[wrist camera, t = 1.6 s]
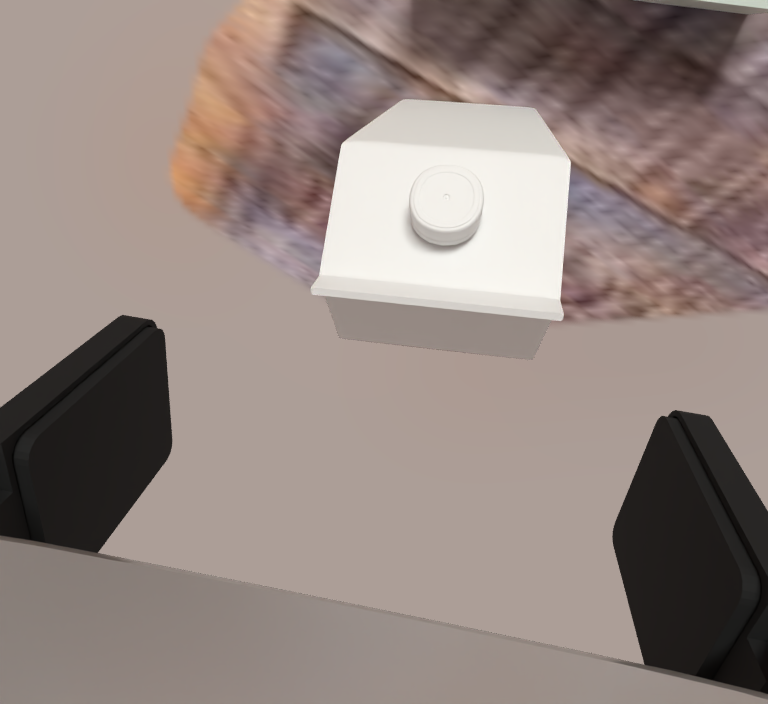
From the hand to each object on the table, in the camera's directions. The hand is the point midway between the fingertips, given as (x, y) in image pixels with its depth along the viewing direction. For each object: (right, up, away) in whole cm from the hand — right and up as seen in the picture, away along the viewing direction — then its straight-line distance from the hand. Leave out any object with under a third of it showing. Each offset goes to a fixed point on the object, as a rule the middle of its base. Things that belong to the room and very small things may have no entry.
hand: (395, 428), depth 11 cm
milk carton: (+4, +12, +22) cm, 25 cm away
